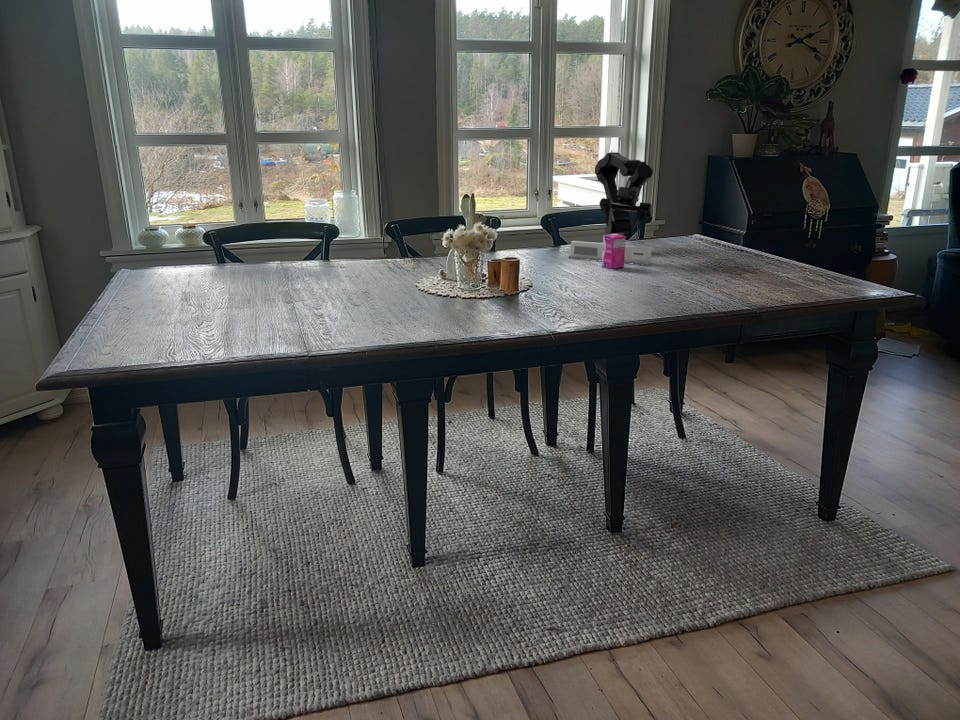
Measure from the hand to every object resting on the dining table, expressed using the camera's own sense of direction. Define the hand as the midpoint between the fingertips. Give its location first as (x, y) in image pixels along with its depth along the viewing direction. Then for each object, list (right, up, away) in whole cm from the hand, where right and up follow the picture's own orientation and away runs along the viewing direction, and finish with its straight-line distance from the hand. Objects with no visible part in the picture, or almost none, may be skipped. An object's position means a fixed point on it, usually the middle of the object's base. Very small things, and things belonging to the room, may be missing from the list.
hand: (619, 227), depth 256 cm
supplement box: (-3, -15, -3) cm, 15 cm away
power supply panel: (-2, -10, +10) cm, 14 cm away
